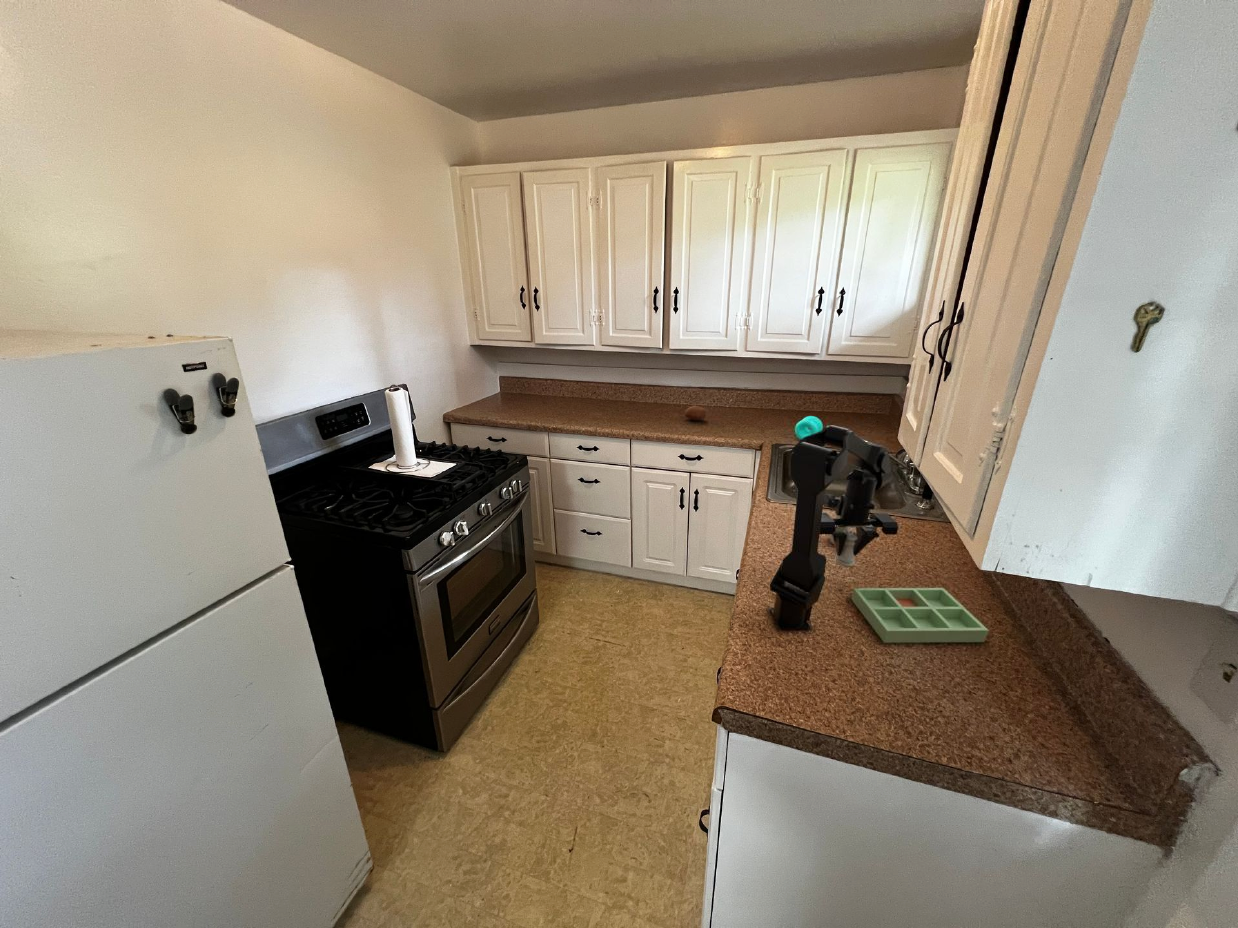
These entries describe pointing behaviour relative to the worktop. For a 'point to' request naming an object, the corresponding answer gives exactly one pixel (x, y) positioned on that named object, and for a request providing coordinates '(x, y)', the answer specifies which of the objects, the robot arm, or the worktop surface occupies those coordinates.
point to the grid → (917, 615)
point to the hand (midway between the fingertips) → (845, 554)
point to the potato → (695, 413)
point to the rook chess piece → (847, 551)
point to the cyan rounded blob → (809, 422)
